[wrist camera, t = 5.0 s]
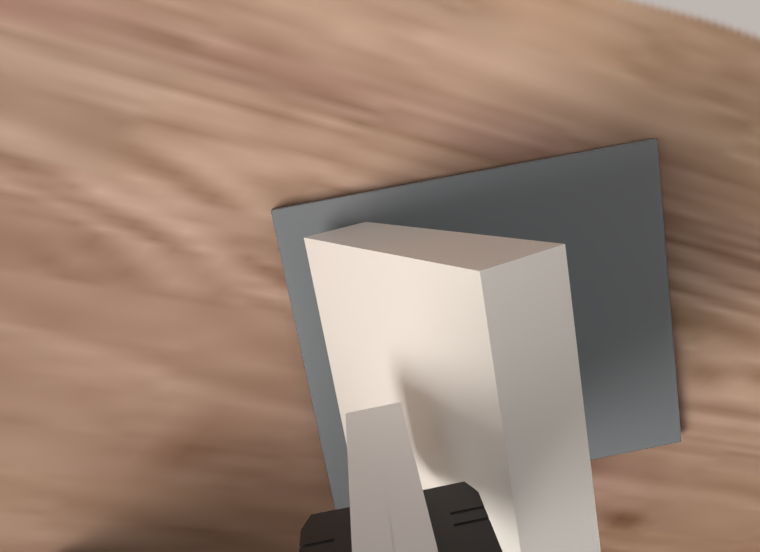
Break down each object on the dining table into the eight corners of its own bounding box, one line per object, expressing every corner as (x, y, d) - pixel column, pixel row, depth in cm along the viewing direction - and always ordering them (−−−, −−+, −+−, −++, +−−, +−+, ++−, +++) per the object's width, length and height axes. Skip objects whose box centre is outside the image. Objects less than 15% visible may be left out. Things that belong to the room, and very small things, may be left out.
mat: (675, 436, 27) (681, 441, 27) (335, 504, 27) (335, 511, 26) (650, 138, 24) (657, 139, 24) (272, 209, 24) (270, 210, 23)
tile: (416, 469, 26) (615, 613, 17) (357, 496, 25) (537, 664, 16) (371, 220, 24) (573, 241, 15) (304, 237, 23) (479, 271, 14)
